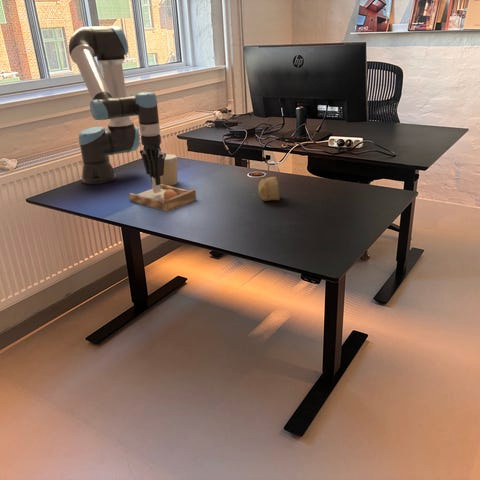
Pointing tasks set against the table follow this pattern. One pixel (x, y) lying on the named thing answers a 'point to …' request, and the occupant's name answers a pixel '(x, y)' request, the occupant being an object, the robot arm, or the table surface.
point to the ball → (169, 194)
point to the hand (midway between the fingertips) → (157, 191)
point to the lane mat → (154, 194)
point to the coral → (269, 189)
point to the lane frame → (168, 204)
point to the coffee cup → (169, 170)
